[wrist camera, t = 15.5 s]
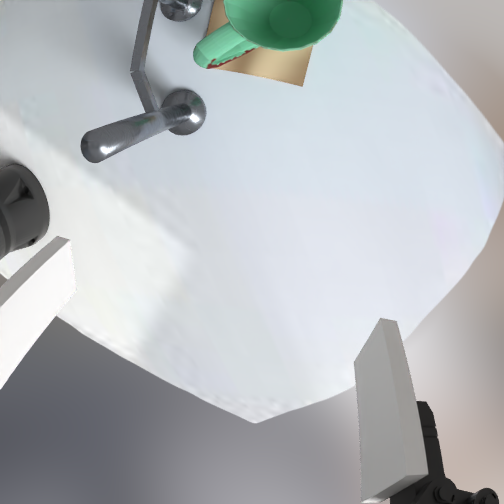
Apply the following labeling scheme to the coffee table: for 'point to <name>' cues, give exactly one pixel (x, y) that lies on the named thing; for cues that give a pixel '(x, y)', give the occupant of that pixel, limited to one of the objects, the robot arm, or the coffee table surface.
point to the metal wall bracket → (149, 95)
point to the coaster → (264, 57)
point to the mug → (267, 28)
